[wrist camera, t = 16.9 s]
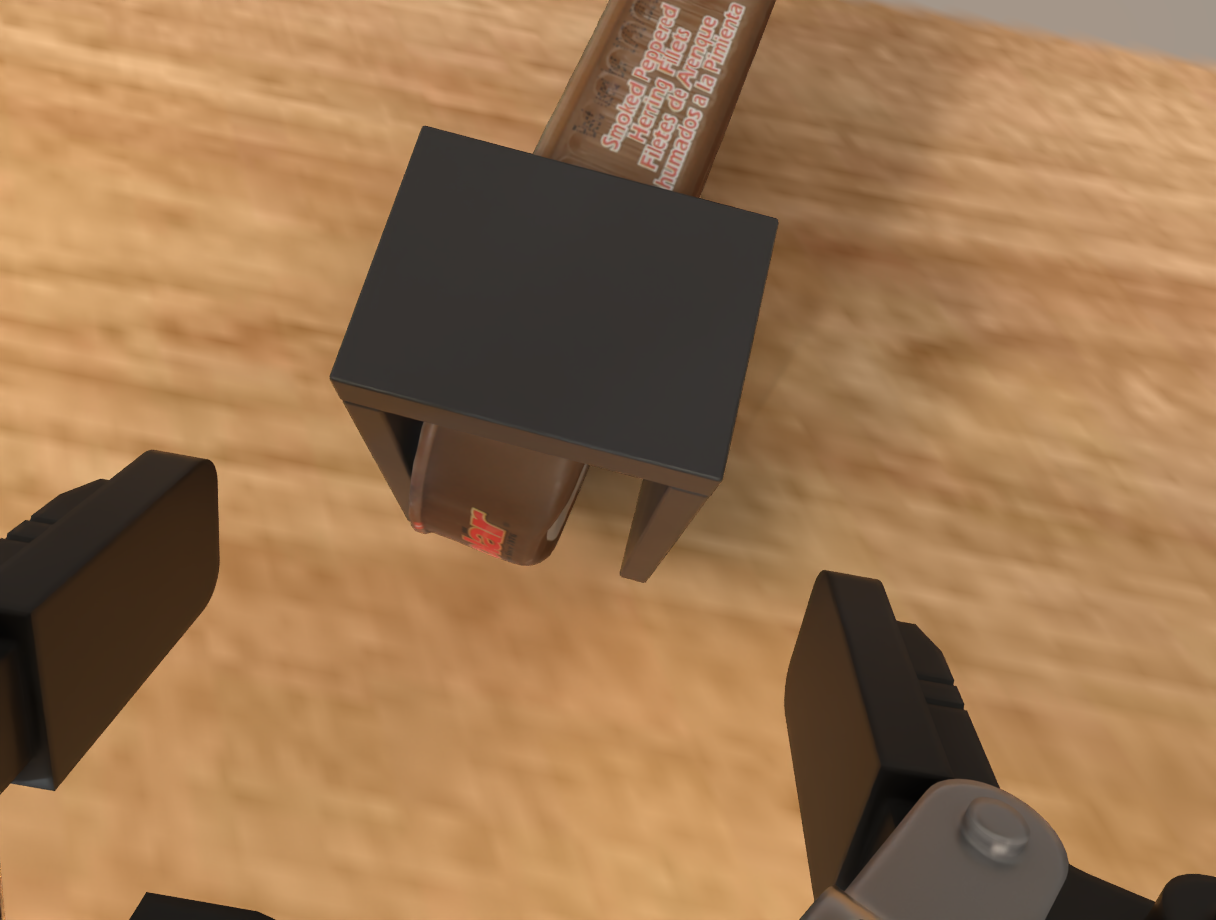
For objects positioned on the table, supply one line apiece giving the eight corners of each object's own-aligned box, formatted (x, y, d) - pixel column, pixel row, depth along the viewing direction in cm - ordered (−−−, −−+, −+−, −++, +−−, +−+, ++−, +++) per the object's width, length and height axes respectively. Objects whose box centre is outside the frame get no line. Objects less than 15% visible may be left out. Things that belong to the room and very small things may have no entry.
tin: (651, 68, 25) (700, -259, 17) (760, 106, 25) (860, -208, 17) (421, 569, 20) (341, 433, 12) (554, 620, 20) (560, 516, 12)
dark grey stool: (686, 412, 20) (780, 218, 13) (645, 584, 19) (722, 482, 12) (461, 353, 20) (421, 123, 13) (406, 521, 19) (326, 378, 12)
